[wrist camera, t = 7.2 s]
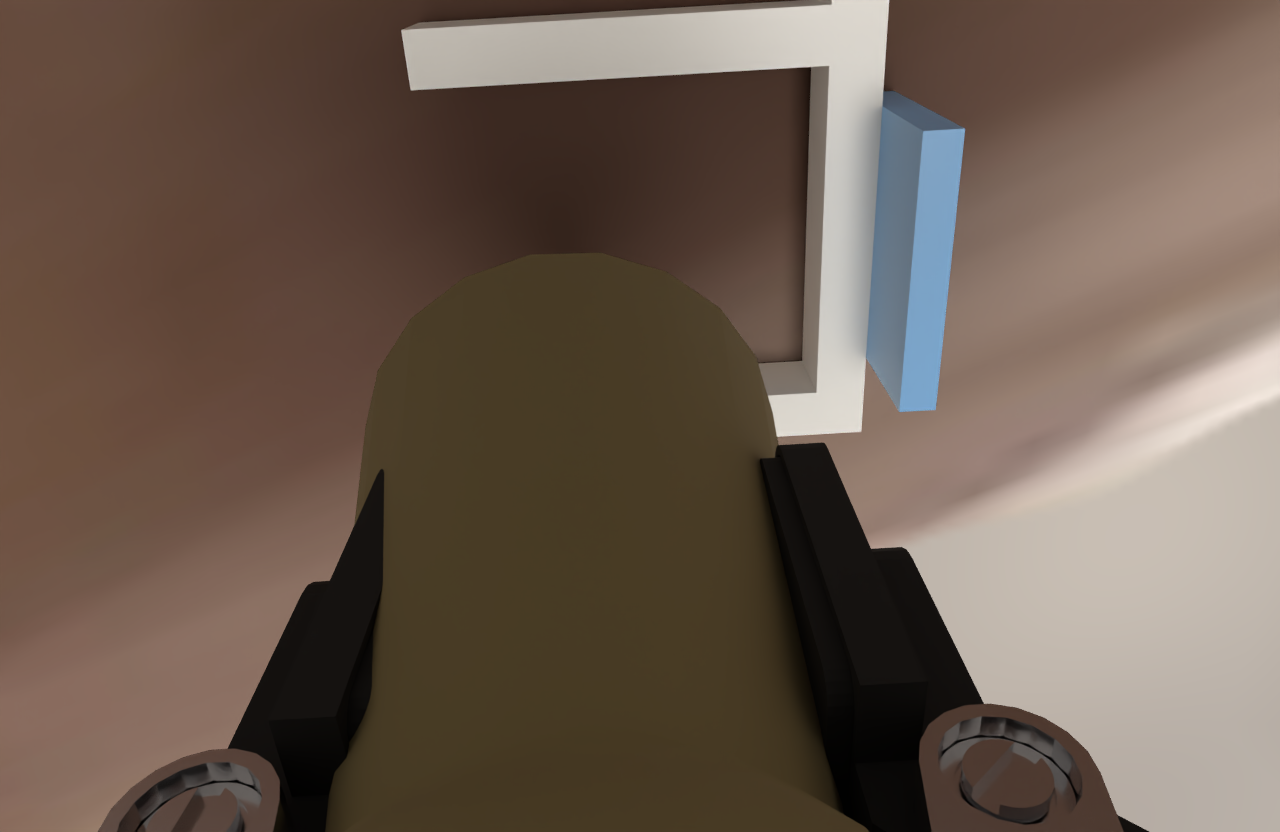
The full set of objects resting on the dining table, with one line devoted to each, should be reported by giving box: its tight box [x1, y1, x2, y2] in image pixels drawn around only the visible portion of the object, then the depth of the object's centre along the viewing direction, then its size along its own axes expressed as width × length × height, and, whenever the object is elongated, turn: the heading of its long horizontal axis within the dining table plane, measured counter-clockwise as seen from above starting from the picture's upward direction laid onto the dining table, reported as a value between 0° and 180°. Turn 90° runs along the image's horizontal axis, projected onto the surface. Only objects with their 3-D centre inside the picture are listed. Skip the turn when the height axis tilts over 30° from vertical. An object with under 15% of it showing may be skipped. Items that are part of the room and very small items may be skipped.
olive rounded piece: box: [325, 253, 869, 832], centre depth 9 cm, size 6×6×11 cm
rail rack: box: [401, 0, 965, 437], centre depth 19 cm, size 19×11×5 cm, turn 3°
